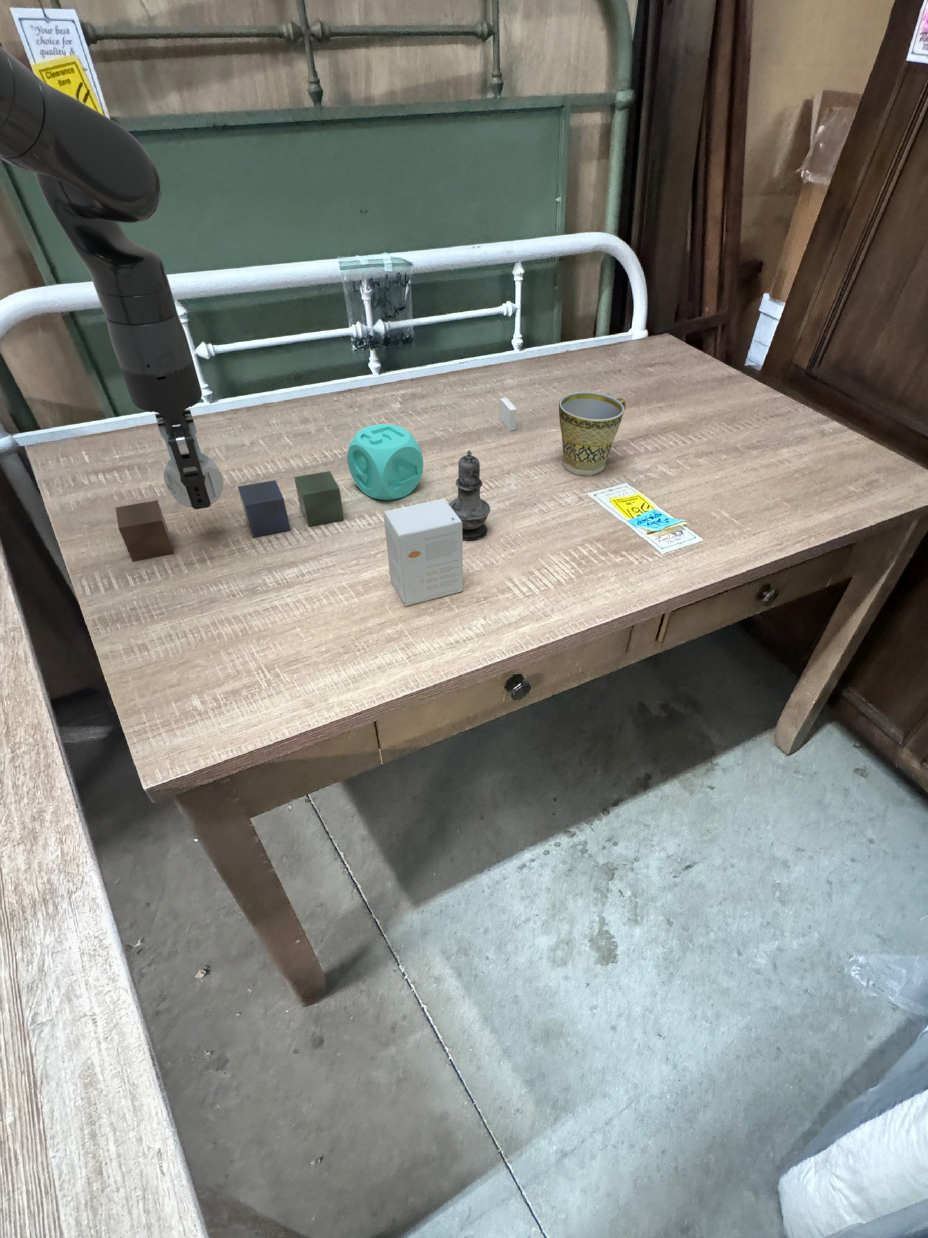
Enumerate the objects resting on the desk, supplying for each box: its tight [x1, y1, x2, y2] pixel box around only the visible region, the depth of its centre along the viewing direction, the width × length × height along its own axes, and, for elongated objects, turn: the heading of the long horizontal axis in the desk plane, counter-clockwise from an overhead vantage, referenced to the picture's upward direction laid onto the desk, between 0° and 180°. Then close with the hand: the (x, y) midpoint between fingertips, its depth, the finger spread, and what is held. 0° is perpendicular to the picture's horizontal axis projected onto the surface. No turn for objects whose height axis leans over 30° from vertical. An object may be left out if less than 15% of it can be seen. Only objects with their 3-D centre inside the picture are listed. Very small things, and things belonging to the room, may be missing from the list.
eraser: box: [498, 397, 518, 432], centre depth 119 cm, size 1×5×4 cm, turn 22°
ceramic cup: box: [558, 391, 627, 477], centre depth 108 cm, size 13×10×10 cm
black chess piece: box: [448, 449, 491, 542], centre depth 92 cm, size 6×6×12 cm
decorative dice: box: [346, 423, 424, 501], centre depth 101 cm, size 8×8×8 cm
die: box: [163, 453, 225, 508], centre depth 86 cm, size 5×5×5 cm
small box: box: [382, 498, 464, 607], centre depth 84 cm, size 8×6×10 cm
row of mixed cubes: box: [115, 470, 345, 562], centre depth 92 cm, size 28×5×5 cm, turn 115°
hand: (197, 491), depth 88 cm, fingers closed on die, 7 cm apart
